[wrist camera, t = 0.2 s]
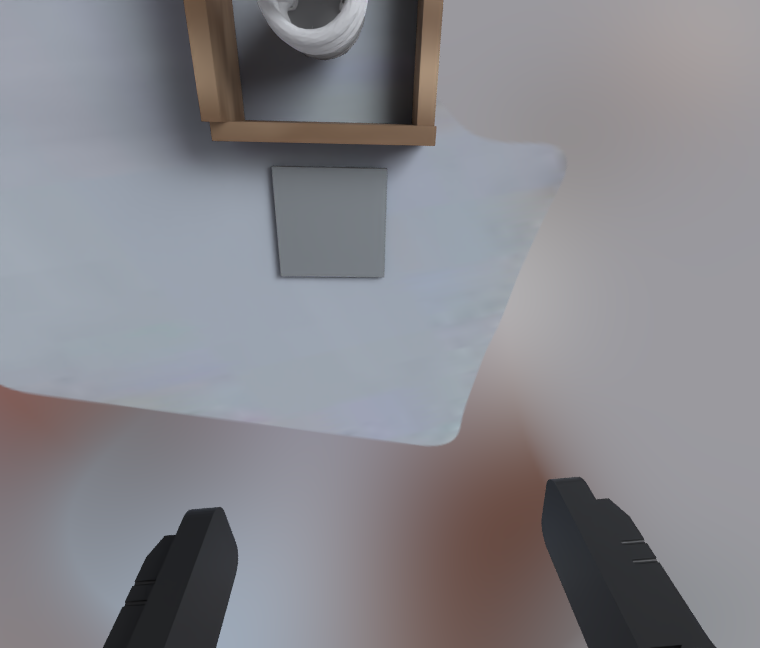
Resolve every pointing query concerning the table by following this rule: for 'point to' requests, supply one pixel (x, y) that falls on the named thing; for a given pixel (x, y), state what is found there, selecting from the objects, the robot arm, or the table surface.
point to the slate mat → (330, 220)
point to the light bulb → (316, 24)
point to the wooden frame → (227, 121)
